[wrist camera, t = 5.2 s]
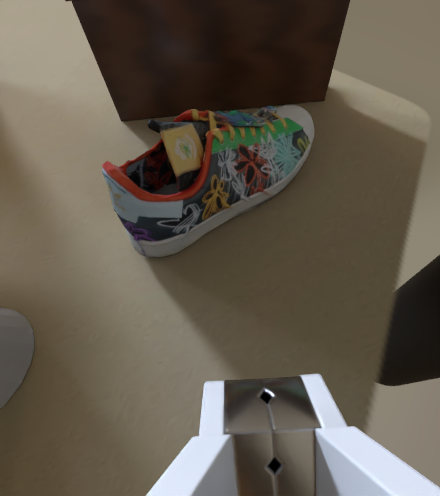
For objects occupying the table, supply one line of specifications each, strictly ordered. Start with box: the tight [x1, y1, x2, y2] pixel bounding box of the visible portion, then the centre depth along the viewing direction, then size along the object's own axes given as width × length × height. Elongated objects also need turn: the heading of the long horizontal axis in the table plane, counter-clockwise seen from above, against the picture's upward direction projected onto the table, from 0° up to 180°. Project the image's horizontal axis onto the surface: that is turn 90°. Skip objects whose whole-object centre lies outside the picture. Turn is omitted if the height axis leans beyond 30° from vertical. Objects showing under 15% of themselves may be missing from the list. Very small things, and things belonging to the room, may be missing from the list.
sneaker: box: [102, 105, 315, 257], centre depth 23 cm, size 8×21×10 cm, turn 131°
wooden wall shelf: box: [66, 0, 350, 121], centre depth 30 cm, size 27×5×13 cm, turn 93°
